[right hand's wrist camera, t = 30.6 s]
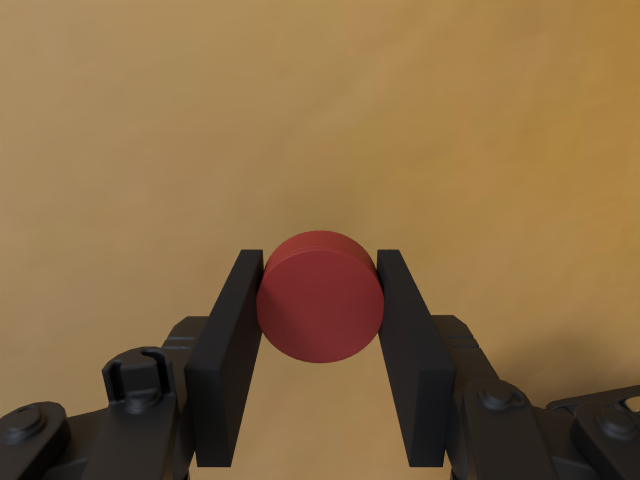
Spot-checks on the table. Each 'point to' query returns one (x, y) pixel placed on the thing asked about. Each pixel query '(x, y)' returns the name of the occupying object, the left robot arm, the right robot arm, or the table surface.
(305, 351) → the cap
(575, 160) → the table surface
